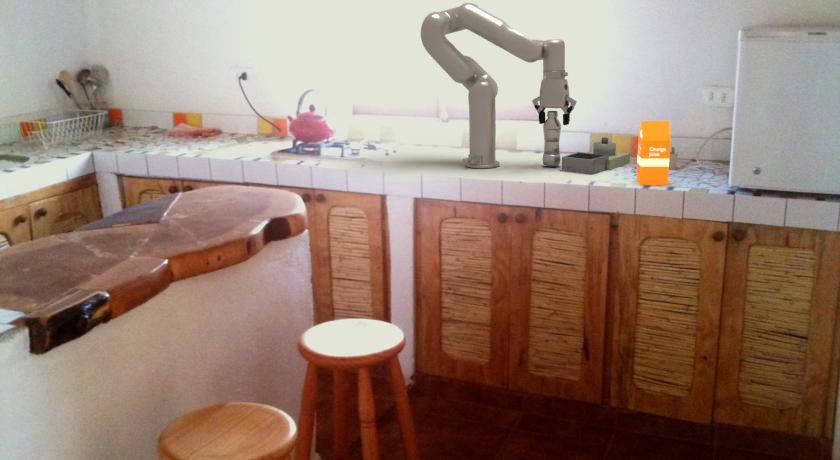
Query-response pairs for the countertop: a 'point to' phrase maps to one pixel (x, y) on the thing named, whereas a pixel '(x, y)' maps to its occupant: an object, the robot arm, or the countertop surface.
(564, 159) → the dark grey tray
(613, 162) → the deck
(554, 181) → the countertop surface
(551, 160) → the plastic bottle
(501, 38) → the robot arm
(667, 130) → the orange juice
